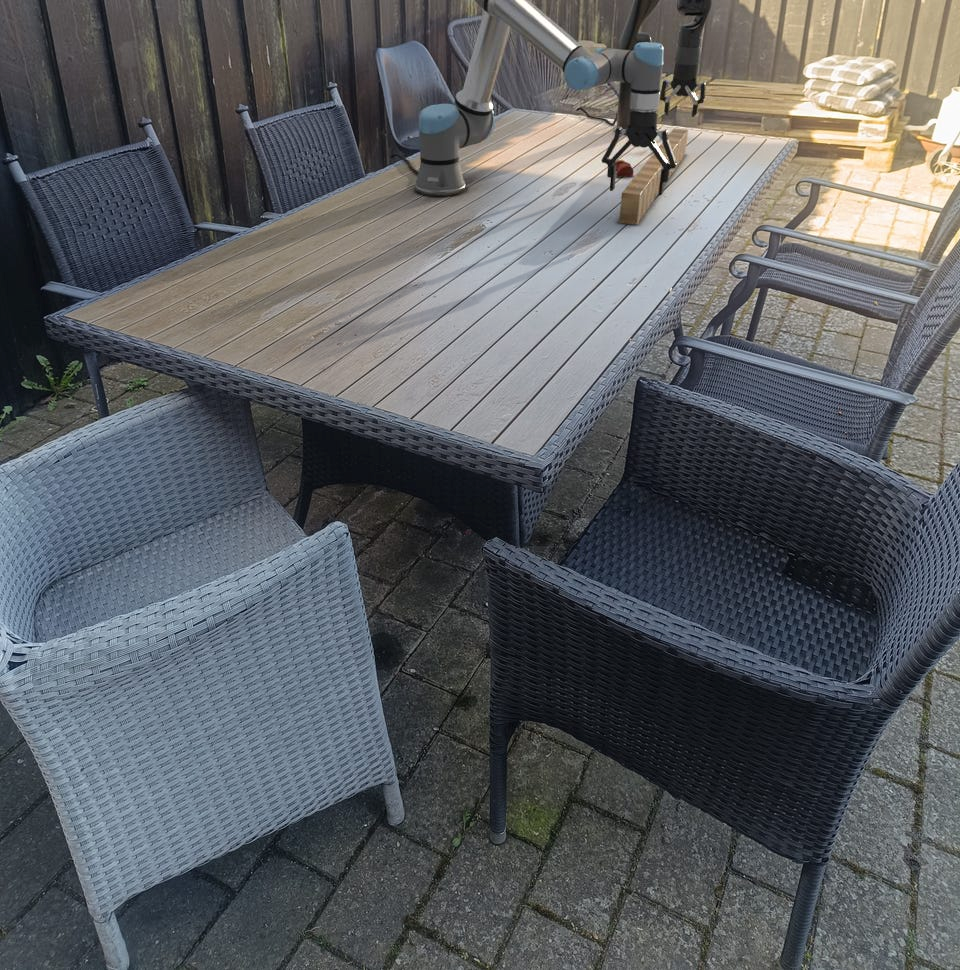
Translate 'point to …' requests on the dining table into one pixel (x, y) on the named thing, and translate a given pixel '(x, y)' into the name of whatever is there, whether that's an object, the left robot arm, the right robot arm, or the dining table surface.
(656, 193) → the bar
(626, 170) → the dark red rounded lump
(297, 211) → the dining table surface
